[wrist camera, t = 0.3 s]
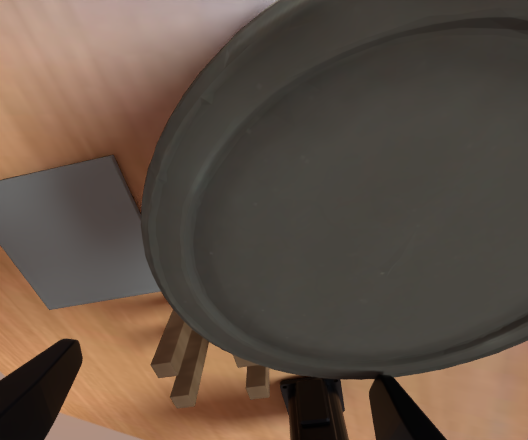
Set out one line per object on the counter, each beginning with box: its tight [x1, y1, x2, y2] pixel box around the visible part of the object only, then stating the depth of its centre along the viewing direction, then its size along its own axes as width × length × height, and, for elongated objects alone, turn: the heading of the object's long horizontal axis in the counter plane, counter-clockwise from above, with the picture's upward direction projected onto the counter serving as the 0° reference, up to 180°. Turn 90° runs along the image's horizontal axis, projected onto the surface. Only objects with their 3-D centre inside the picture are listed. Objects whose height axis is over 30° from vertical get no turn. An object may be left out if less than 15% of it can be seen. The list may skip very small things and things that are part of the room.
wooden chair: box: [151, 309, 270, 408], centre depth 23 cm, size 7×5×8 cm
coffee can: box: [141, 0, 528, 380], centre depth 11 cm, size 10×10×14 cm
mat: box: [0, 155, 161, 310], centre depth 23 cm, size 12×12×1 cm
